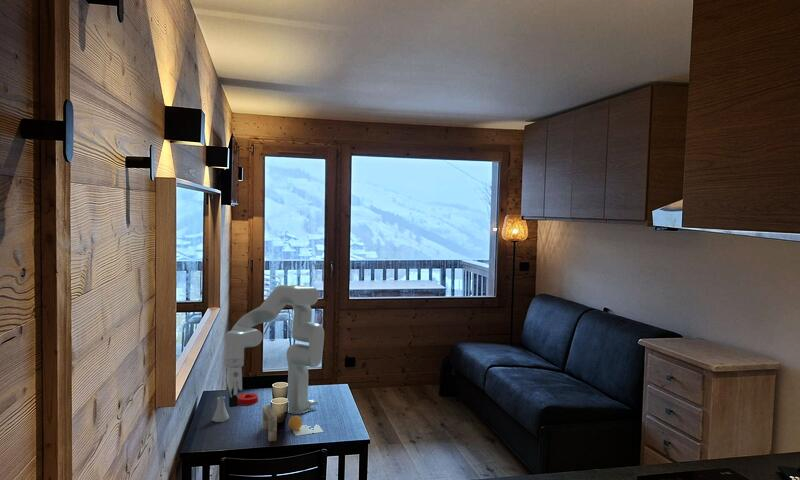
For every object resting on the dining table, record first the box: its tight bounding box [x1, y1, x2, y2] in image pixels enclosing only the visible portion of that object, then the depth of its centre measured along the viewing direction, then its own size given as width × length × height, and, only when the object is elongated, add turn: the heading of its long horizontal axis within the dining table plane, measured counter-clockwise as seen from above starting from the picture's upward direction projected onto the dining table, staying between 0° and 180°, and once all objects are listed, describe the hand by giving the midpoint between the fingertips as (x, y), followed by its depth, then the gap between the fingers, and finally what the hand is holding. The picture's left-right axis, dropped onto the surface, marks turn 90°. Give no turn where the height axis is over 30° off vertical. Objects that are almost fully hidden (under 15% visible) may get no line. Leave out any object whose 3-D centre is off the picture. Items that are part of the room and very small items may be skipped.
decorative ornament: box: [238, 392, 259, 406], centre depth 258 cm, size 10×10×3 cm
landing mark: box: [291, 423, 324, 437], centre depth 226 cm, size 12×12×1 cm
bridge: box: [261, 404, 278, 442], centre depth 219 cm, size 3×15×10 cm, turn 25°
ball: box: [287, 415, 303, 430], centre depth 225 cm, size 6×6×6 cm
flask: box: [211, 396, 230, 423], centre depth 234 cm, size 7×7×10 cm
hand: (233, 406), depth 212 cm, fingers closed
